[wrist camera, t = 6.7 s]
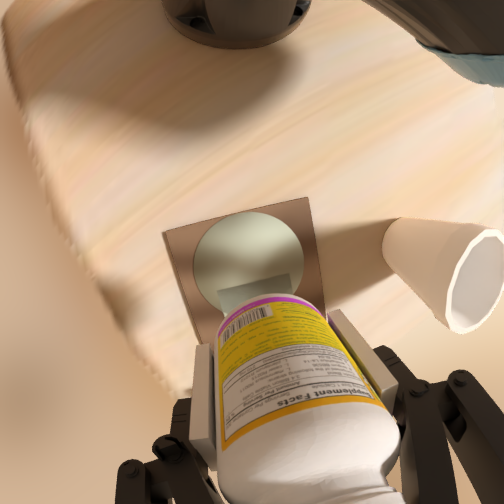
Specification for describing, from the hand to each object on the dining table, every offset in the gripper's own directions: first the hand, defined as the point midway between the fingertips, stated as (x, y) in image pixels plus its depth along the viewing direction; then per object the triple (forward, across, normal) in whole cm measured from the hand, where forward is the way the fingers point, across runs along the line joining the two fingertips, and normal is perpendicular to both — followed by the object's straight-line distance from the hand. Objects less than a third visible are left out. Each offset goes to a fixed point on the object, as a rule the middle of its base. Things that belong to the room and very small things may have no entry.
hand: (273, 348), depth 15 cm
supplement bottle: (+1, 0, 0) cm, 1 cm away
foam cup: (+14, +18, -2) cm, 23 cm away
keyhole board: (+14, 0, -5) cm, 15 cm away
